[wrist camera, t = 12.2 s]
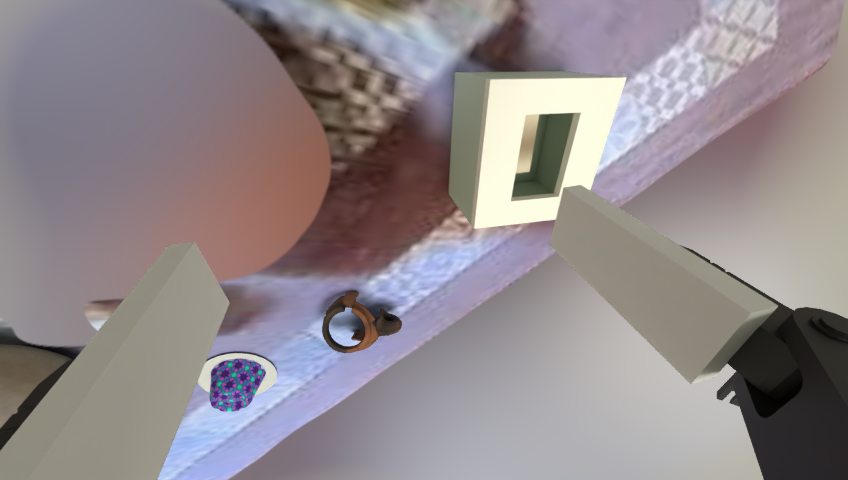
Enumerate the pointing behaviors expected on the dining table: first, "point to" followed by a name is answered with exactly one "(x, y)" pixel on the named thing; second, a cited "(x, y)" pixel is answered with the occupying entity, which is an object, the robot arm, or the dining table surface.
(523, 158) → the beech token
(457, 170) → the slot box
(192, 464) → the dining table surface
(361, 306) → the pottery mug
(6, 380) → the bowl
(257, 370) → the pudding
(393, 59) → the dining table surface
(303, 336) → the dining table surface
